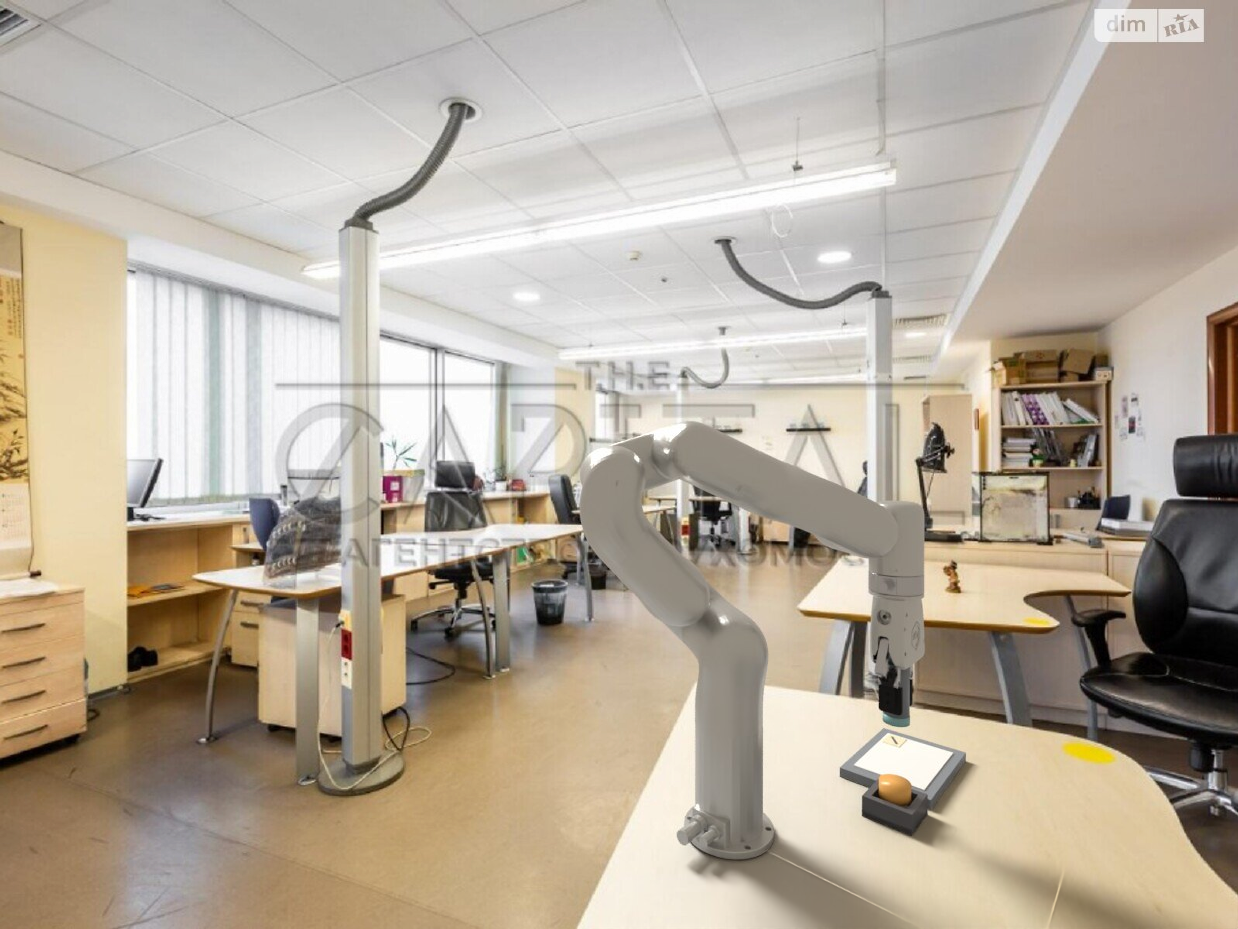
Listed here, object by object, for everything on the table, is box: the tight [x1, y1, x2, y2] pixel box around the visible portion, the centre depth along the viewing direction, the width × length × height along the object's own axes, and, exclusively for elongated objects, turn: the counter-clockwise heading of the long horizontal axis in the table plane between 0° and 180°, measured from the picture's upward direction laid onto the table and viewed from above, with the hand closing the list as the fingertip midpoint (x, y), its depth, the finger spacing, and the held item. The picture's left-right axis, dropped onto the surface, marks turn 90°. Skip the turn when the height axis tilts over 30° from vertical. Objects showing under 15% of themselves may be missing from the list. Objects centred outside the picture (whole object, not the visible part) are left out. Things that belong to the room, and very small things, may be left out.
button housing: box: [861, 778, 929, 837], centre depth 90 cm, size 7×7×3 cm
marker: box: [882, 660, 911, 728], centre depth 89 cm, size 4×4×11 cm
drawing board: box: [839, 727, 967, 811], centre depth 103 cm, size 20×14×2 cm
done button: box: [879, 774, 911, 806], centre depth 90 cm, size 4×4×2 cm
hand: (895, 706), depth 89 cm, fingers closed on marker, 3 cm apart
